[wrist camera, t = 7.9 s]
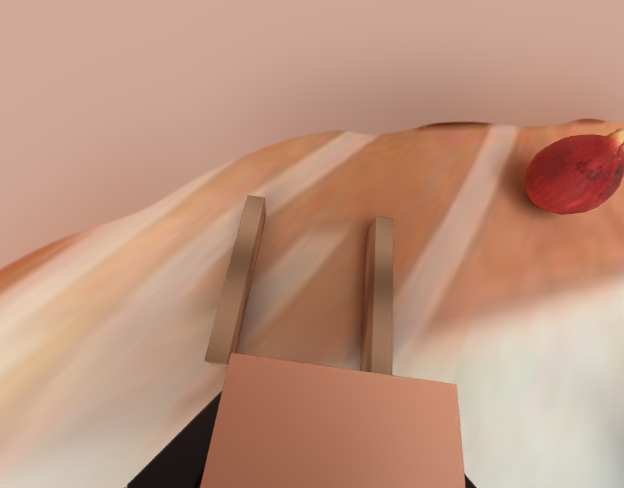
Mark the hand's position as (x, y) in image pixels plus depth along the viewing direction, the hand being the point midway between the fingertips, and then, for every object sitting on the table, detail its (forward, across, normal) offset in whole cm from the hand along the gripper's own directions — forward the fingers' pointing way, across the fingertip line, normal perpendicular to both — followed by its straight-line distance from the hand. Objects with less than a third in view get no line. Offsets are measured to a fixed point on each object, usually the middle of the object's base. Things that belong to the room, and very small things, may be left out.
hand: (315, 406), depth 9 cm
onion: (+21, -19, -5) cm, 29 cm away
